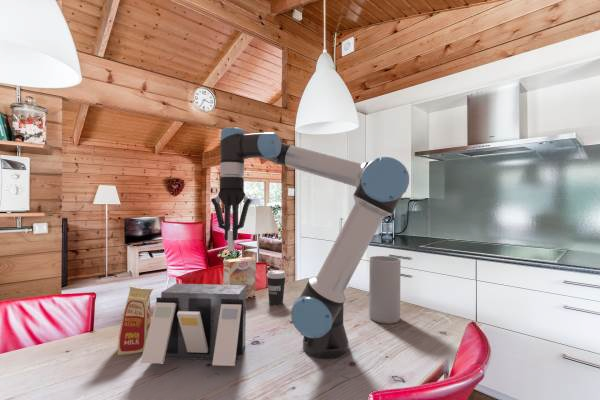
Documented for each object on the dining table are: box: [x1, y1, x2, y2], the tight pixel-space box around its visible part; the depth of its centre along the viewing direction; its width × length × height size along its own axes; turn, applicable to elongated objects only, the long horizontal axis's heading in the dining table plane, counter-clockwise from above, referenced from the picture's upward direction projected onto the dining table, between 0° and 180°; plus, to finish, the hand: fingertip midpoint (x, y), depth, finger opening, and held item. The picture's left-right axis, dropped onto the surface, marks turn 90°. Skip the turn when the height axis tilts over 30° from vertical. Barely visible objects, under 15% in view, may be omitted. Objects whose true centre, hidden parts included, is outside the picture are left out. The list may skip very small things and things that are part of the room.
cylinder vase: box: [368, 255, 402, 325], centre depth 126 cm, size 12×12×25 cm
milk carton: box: [117, 285, 154, 356], centre depth 99 cm, size 9×9×20 cm
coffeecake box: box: [222, 256, 257, 299], centre depth 151 cm, size 15×7×20 cm, turn 131°
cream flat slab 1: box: [177, 311, 208, 353], centre depth 87 cm, size 1×6×16 cm, turn 87°
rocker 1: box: [140, 302, 176, 364], centre depth 87 cm, size 1×6×16 cm, turn 88°
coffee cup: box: [266, 269, 287, 306], centre depth 143 cm, size 10×10×15 cm
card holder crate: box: [155, 283, 247, 362], centre depth 96 cm, size 10×27×20 cm, turn 88°
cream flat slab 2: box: [211, 304, 242, 367], centre depth 86 cm, size 1×6×16 cm, turn 89°
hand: (231, 250), depth 96 cm, fingers closed
